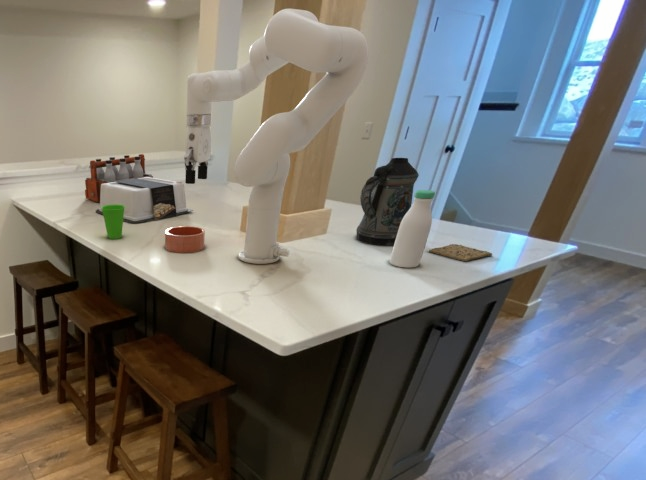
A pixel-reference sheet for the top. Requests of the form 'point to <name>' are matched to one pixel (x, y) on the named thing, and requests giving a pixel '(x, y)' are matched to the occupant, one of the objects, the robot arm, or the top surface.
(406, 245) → the milk bottle
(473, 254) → the cookie
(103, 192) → the cake box
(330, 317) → the top surface
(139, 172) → the milk bottle holder
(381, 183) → the beer stein
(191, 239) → the bowl
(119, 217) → the cup
